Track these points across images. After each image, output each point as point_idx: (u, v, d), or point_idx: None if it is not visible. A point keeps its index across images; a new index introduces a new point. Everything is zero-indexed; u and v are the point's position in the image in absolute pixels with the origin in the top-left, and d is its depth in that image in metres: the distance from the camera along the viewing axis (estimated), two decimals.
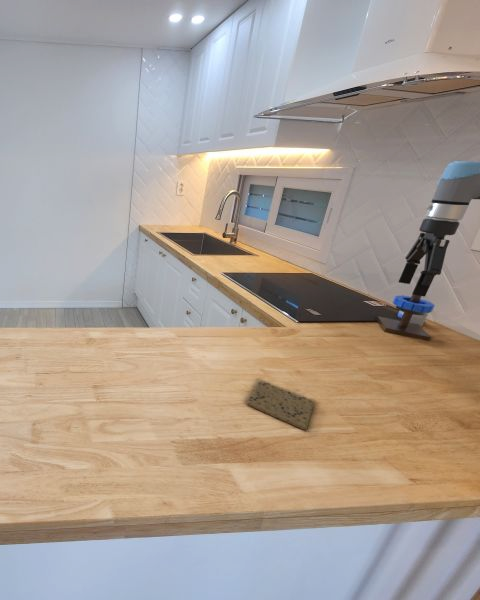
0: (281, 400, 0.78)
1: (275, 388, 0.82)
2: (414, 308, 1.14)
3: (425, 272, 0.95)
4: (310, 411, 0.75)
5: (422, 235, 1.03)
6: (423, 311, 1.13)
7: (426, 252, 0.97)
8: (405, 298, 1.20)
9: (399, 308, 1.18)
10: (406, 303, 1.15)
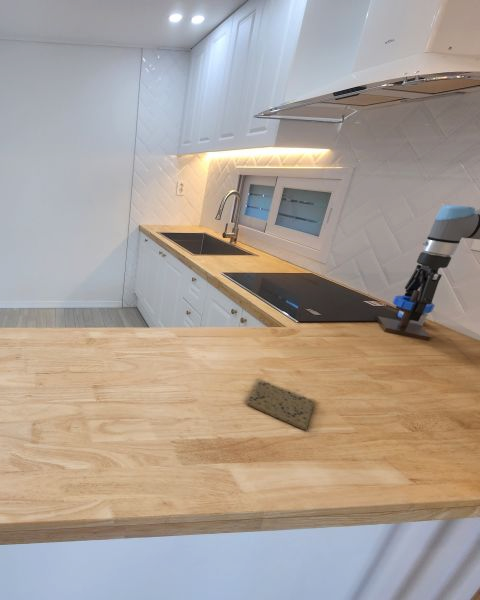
0: (281, 400, 0.78)
1: (275, 388, 0.82)
2: None
3: (418, 301, 1.12)
4: (310, 411, 0.75)
5: (419, 267, 1.18)
6: (423, 311, 1.13)
7: (421, 282, 1.12)
8: (405, 298, 1.20)
9: (399, 308, 1.18)
10: (406, 303, 1.15)
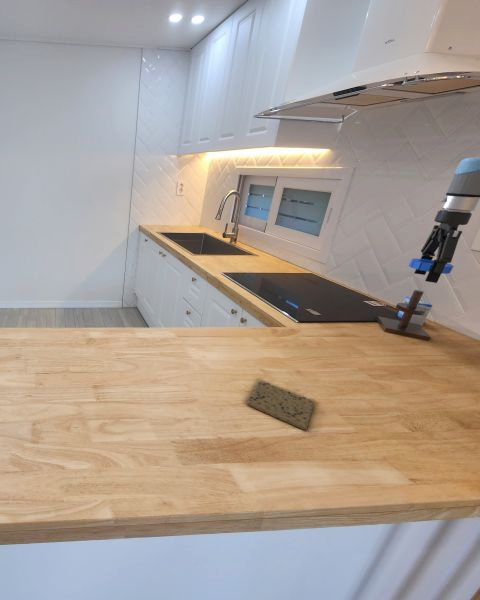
0: (281, 400, 0.78)
1: (275, 388, 0.82)
2: None
3: (437, 261, 1.06)
4: (310, 411, 0.75)
5: (436, 227, 1.13)
6: (442, 272, 1.08)
7: (440, 241, 1.07)
8: (422, 261, 1.15)
9: (399, 308, 1.18)
10: (423, 264, 1.10)
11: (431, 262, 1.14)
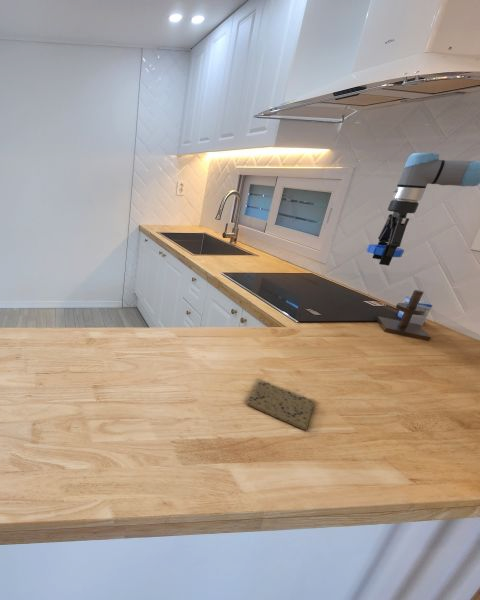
0: (281, 400, 0.78)
1: (275, 388, 0.82)
2: None
3: (388, 245, 1.19)
4: (310, 411, 0.75)
5: (390, 216, 1.25)
6: (393, 255, 1.21)
7: (391, 228, 1.20)
8: (378, 246, 1.27)
9: (399, 308, 1.18)
10: (378, 249, 1.23)
11: None
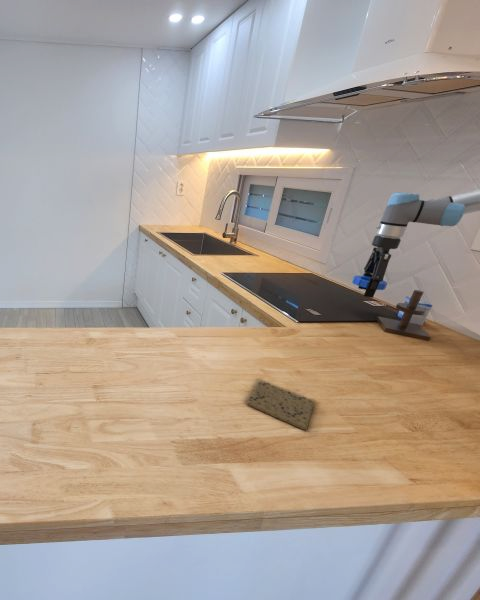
0: (281, 400, 0.78)
1: (275, 388, 0.82)
2: None
3: (372, 279, 1.24)
4: (310, 411, 0.75)
5: (375, 249, 1.31)
6: (377, 288, 1.26)
7: (375, 262, 1.25)
8: (363, 278, 1.33)
9: (399, 308, 1.18)
10: (362, 281, 1.28)
11: None
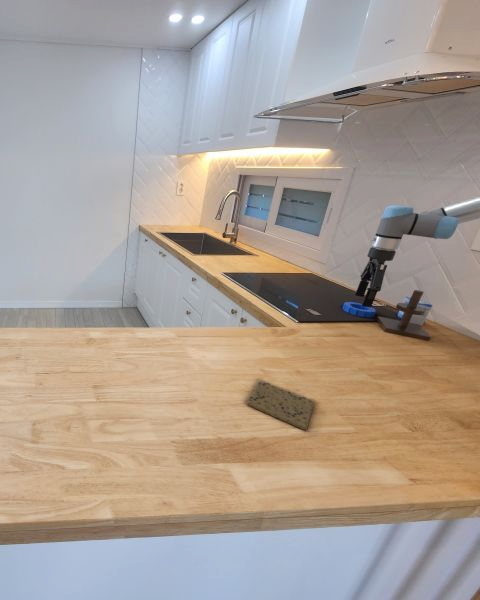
0: (281, 400, 0.78)
1: (275, 388, 0.82)
2: (358, 313, 1.31)
3: (370, 289, 1.24)
4: (310, 411, 0.75)
5: (371, 259, 1.32)
6: (366, 316, 1.30)
7: (371, 273, 1.26)
8: (353, 304, 1.37)
9: (399, 308, 1.18)
10: (352, 309, 1.32)
11: (360, 306, 1.37)
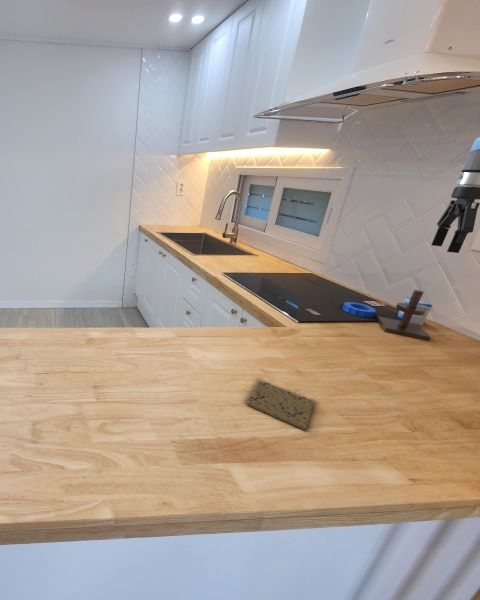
0: (281, 400, 0.78)
1: (275, 388, 0.82)
2: (358, 313, 1.31)
3: (459, 231, 1.11)
4: (310, 411, 0.75)
5: (452, 202, 1.20)
6: (366, 316, 1.30)
7: (458, 215, 1.13)
8: (353, 304, 1.37)
9: (399, 308, 1.18)
10: (352, 309, 1.32)
11: (360, 306, 1.37)
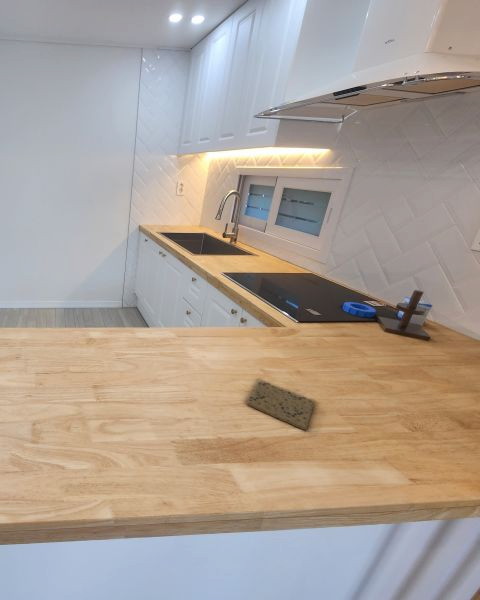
0: (281, 400, 0.78)
1: (275, 388, 0.82)
2: (358, 313, 1.31)
3: None
4: (310, 411, 0.75)
5: None
6: (366, 316, 1.30)
7: None
8: (353, 304, 1.37)
9: (399, 308, 1.18)
10: (352, 309, 1.32)
11: (360, 306, 1.37)
